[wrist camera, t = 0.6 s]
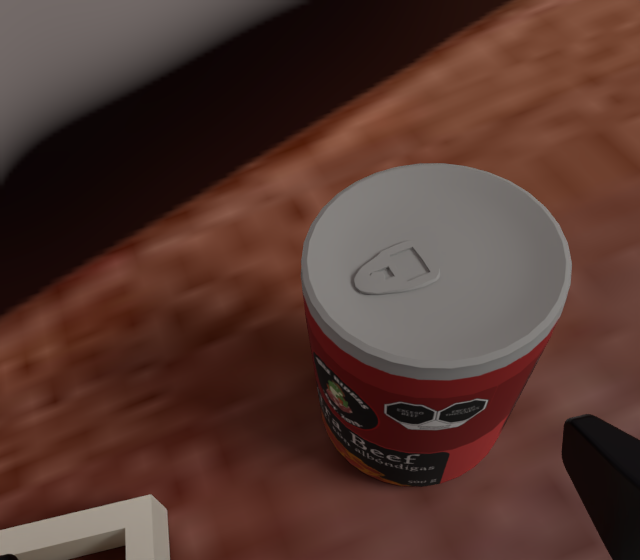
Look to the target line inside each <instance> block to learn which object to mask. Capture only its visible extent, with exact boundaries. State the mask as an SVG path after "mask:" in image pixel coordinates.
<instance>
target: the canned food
mask: <svg viewBox="0 0 640 560" xmlns="http://www.w3.org/2000/svg"><path fill="white" fill-rule="evenodd" d="M301 265H302V268H301V280H302V289H303V298H304V307H305V315H306V321H307V327H308V333H309V339H310V346H311V352H312V358H313V364H314V370H315V376H316V382H317V389H318V395H319V401H320V407H321V413H322V419H323V422H324V425H325V428H326V430H327V433H328V435H329V437H330V439H331V440H332V442H333V444H334V445H335V447H336V449H337V450H338V451H339V452H340V453H341V454H342V455H343V456H344V457H345V459H346V460H347V461H348V462H349V463H351V464H352V465H353V466H355V467H356V468H358V469H359V470H360V471H362V472H363V473H365V474H367V475H369V476H371V477H374V478H376V479H378V480H380V481H383V482H386V483H391V484H395V485H399V486H416V487H422V486H428V485H434V484H440V483H443V482H446V481H449V480H451V479H454V478H457V477H459V476H461V475H462V474H464V473H465V472H467V471H469V470H470V469H472V468H473V467H475V466H476V465H477V464H478V463H479V462H480V461H481V460H482V459H483V458H484V457H485V456H486V455H487V454H488V453H489V451H490V449H491V448H492V446H493V445H494V443H495V442H496V440H497V439H498V437H499V435H500V433H501V431H502V429H503V427H504V425H505V423H506V421H507V419H508V417H509V416H510V414H511V412H512V410H513V408H514V406H515V404H516V402H517V400H518V398H519V396H520V395H521V393H522V391H523V389H524V387H525V385H526V383H527V381H528V379H529V377H530V375H531V374H532V372H533V370H534V368H535V366H536V364H537V362H538V360H539V358H540V356H541V354H542V353H543V351H544V349H545V347H546V345H547V343H548V341H549V339H550V337H551V335H552V332H553V330H554V328H555V326H556V324H557V322H558V320H559V318H560V315H561V313H562V310H563V307H564V304H565V301H566V298H567V293H568V290H569V287H570V283H571V268H572V262H571V257H570V252H569V247H568V243H567V241H566V238H565V236H564V234H563V232H562V230H561V228H560V226H559V224H558V223H557V221H556V220H555V219H554V217H553V216H552V215H551V214H550V212H549V211H548V210H547V208H546V207H545V206H544V205H542V204H541V203H540V202H539V201H538V200H537V199H536V198H534V197H533V196H532V195H531V194H530V193H529V192H527V191H525V190H524V189H522V188H520V187H519V186H517V185H516V184H514V183H512V182H511V181H508V180H506V179H504V178H501V177H499V176H497V175H494V174H492V173H489V172H486V171H482V170H478V169H475V168H471V167H467V166H460V165H452V164H443V163H438V164H414V165H407V166H400V167H395V168H391V169H388V170H384V171H381V172H377V173H374V174H372V175H370V176H368V177H366V178H363V179H361V180H359V181H357V182H355V183H353V184H352V185H350V186H349V187H347V188H346V189H344V190H343V191H341V192H340V193H338V194H337V195H336V196H335V197H334V198H333V199H332V200H331V201H330V202H329V203H328V204H327V205H325V206H324V207H323V208H322V210H321V211H320V213H319V214H318V216H317V217H316V219H315V220H314V221H313V223H312V224H311V227H310V229H309V232H308V234H307V236H306V239H305V241H304V246H303V253H302V260H301Z"/></svg>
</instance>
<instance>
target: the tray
mask: <svg viewBox="0 0 640 560" xmlns="http://www.w3.org/2000/svg"><path fill="white" fill-rule="evenodd" d="M125 545H126V560H170V550H169V534H168V517H167V509H166V508H165V507H164V506H163V505H162V504H161V503H160V502H159V501H158V500H157V499H155V498H154V497H153V496H152V495H151V494H150V495H146V496H142V497H138V498H134V499H129V500H125V501H121V502H117V503H113V504H108V505H104V506H100V507H96V508H92V509H87V510H83V511H79V512H75V513H71V514H66V515H62V516H58V517H54V518H50V519H45V520H41V521H37V522H33V523H29V524H24V525H20V526H16V527H12V528H8V529H3V530H0V556H1V555H5V554H13V555H15V556H16V557H17V558H18V560H68V559H72V558H76V557H80V556H84V555H88V554H93V553H97V552H101V551H105V550H109V549H113V548H117V547H121V546H125Z"/></svg>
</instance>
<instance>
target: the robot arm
mask: <svg viewBox="0 0 640 560" xmlns="http://www.w3.org/2000/svg"><path fill="white" fill-rule="evenodd" d="M562 460H563V463H564V466H565V468H566V470H567V472H568V474H569V476H570V478H571V480H572V482H573V484H574V486H575V488H576V490H577V492H578V494H579V496H580V498H581V500H582V502H583V504H584V506H585V508H586V510H587V512H588V514H589V516H590V518H591V520H592V522H593V524H594V525H595V527H596V529H597V531H598V533H599V535H600V537H601V539H602V541H603V543H604V545H605V547H606V549H607V550H608V552H609V554H610V556H611V557H612V559H613V560H640V440H638V439H637V438H635V437H633V436H631V435H629V434H627V433H626V432H624V431H622V430H620V429H618V428H616V427H614V426H613V425H611V424H609V423H607V422H605V421H603V420H602V419H600V418H598V417H596V416H594V415H590V414H585V415H581V416H577V417H572V418H569V419H567V420H566V422H565V424H564V431H563V443H562ZM0 560H18V558H17V557H16V556H15V555H13V554H5V555H1V556H0Z"/></svg>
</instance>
